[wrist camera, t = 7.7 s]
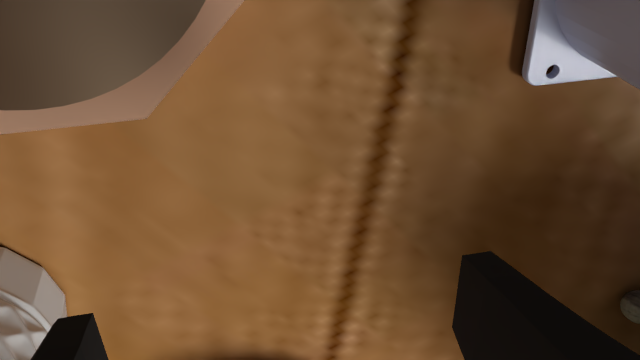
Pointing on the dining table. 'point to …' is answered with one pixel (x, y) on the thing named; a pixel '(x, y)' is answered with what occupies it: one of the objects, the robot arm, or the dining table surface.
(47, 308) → the white cup
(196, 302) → the dining table surface
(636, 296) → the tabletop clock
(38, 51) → the lid
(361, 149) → the dining table surface
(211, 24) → the bowl
